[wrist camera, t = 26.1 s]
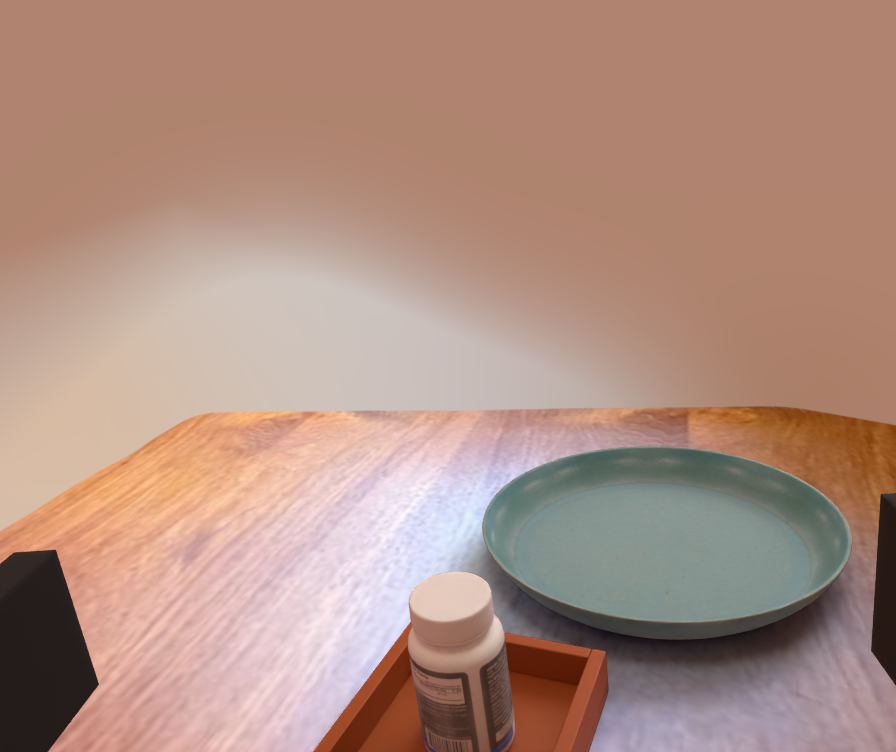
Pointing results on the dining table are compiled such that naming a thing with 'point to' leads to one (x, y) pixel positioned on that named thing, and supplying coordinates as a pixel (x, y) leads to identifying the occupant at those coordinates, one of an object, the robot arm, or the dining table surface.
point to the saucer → (667, 541)
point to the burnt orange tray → (532, 688)
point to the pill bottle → (460, 666)
